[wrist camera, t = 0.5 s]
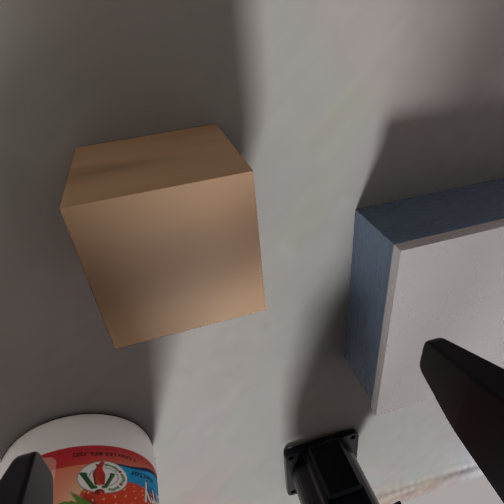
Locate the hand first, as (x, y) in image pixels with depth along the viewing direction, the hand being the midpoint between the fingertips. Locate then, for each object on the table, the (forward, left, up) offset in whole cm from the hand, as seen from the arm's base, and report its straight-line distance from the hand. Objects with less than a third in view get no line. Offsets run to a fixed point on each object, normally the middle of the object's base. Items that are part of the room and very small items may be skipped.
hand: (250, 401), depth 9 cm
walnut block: (0, +1, -12) cm, 12 cm away
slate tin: (-9, -15, -12) cm, 22 cm away
